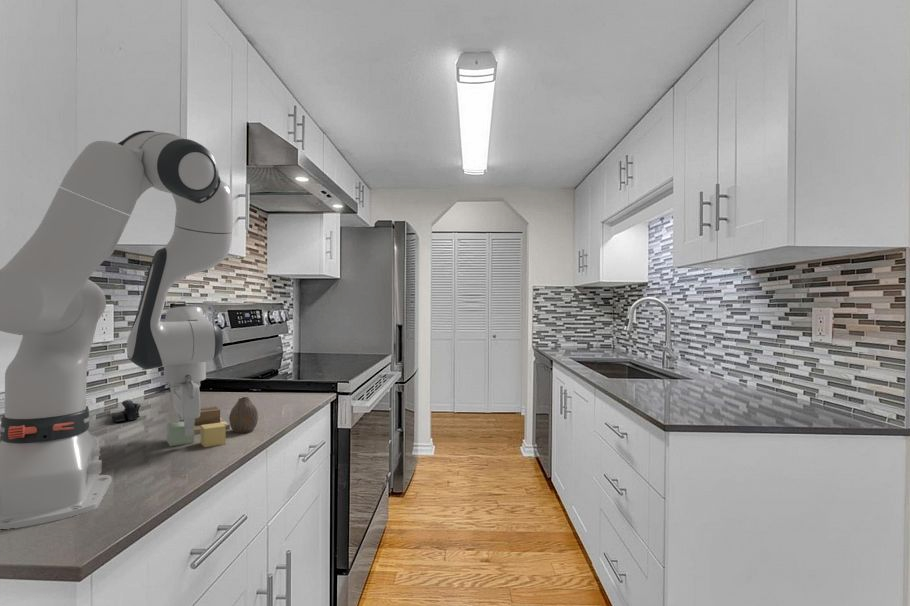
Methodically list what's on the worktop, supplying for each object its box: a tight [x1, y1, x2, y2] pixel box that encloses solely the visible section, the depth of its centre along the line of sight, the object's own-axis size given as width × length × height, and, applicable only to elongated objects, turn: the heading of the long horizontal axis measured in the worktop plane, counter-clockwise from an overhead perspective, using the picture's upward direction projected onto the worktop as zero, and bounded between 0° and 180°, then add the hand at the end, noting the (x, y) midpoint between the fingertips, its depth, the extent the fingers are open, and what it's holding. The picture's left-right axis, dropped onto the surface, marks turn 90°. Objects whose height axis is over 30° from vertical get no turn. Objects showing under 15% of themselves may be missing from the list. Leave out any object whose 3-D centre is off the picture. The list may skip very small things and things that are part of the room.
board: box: [194, 417, 231, 435], centre depth 134 cm, size 14×9×1 cm, turn 37°
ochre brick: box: [200, 423, 227, 448], centre depth 118 cm, size 4×4×4 cm
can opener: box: [111, 398, 142, 423], centre depth 145 cm, size 18×7×6 cm, turn 32°
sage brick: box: [166, 421, 195, 447], centre depth 119 cm, size 5×5×4 cm
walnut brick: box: [194, 405, 221, 426], centre depth 134 cm, size 6×6×4 cm
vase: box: [228, 396, 259, 434], centre depth 130 cm, size 7×7×9 cm
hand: (185, 431), depth 119 cm, fingers open, 8 cm apart
